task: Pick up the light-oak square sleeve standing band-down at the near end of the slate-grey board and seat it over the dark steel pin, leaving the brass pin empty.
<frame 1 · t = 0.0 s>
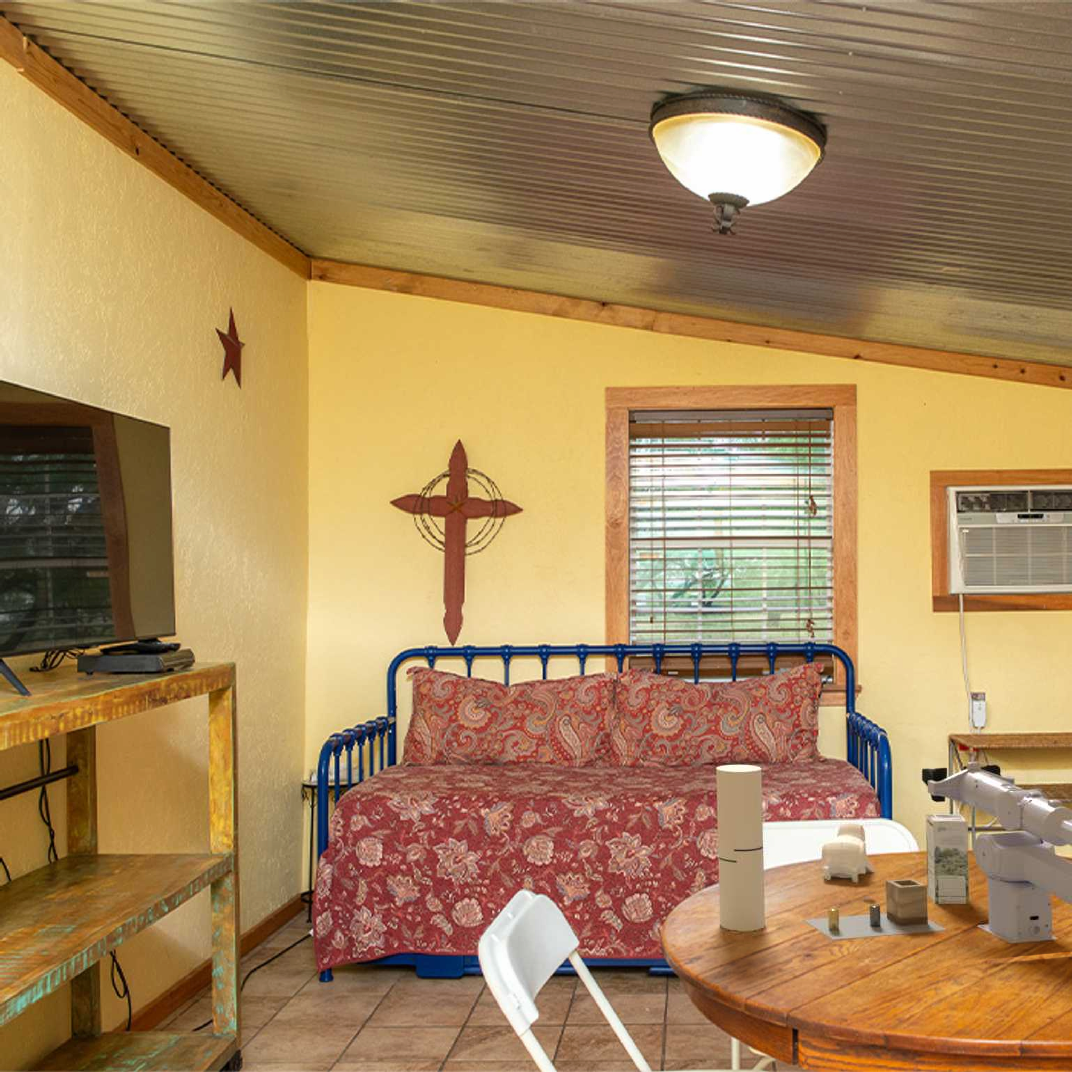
hand: (944, 773, 209), 22 cm above the table, tool horizontal, fingers open, 7 cm apart
white animal figurine: (847, 875, 229), on the table
cylindrical container: (742, 926, 197), on the table
board: (873, 928, 194), on the table
brass pin: (834, 933, 192), resting on board
syrup box: (948, 903, 208), on the table
sleeve: (907, 921, 196), point 1 cm above the table, touching board
steel pin: (875, 929, 193), resting on board
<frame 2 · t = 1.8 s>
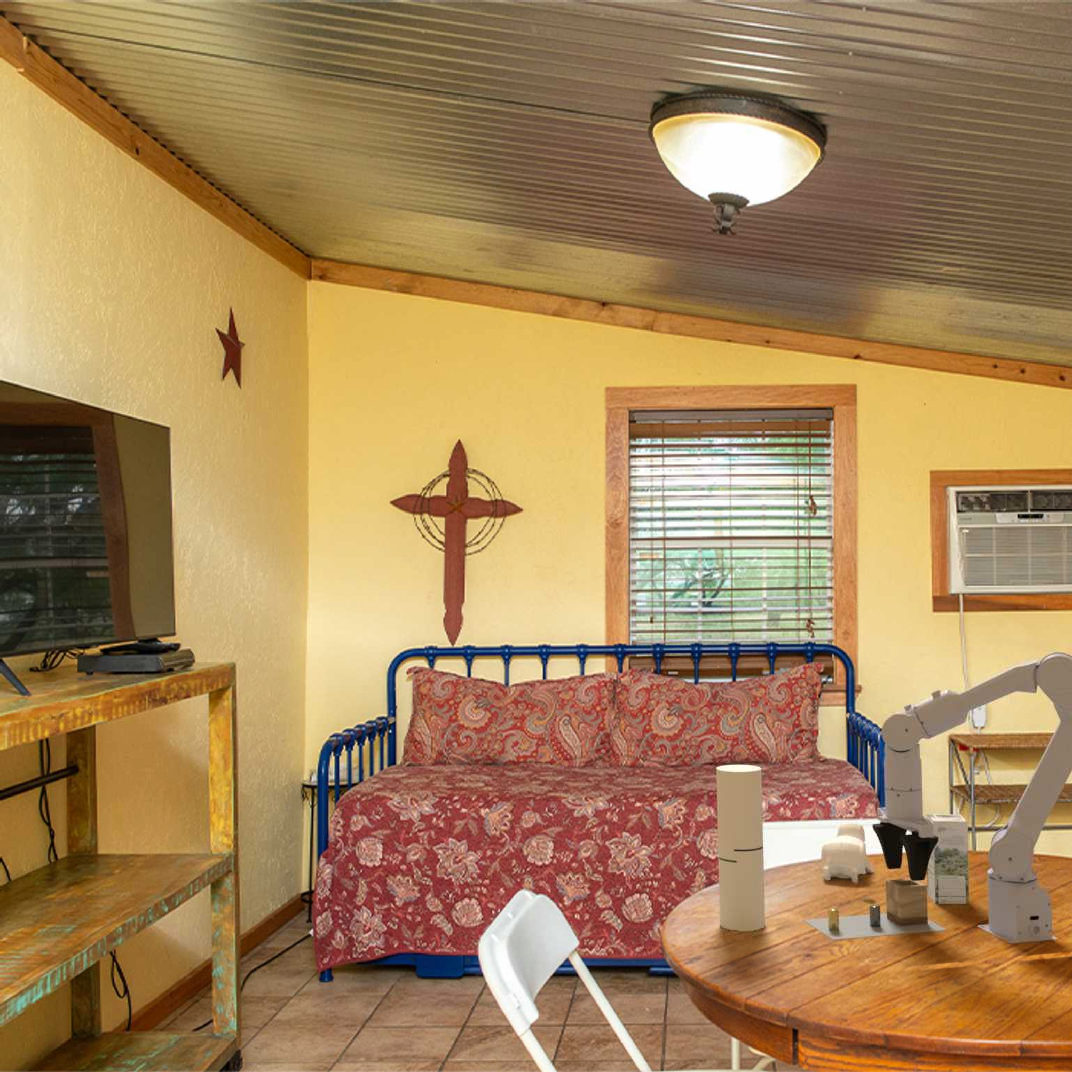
hand: (905, 874, 196), 8 cm above the table, tool pointing down, fingers open, 7 cm apart
nothing on the table moved.
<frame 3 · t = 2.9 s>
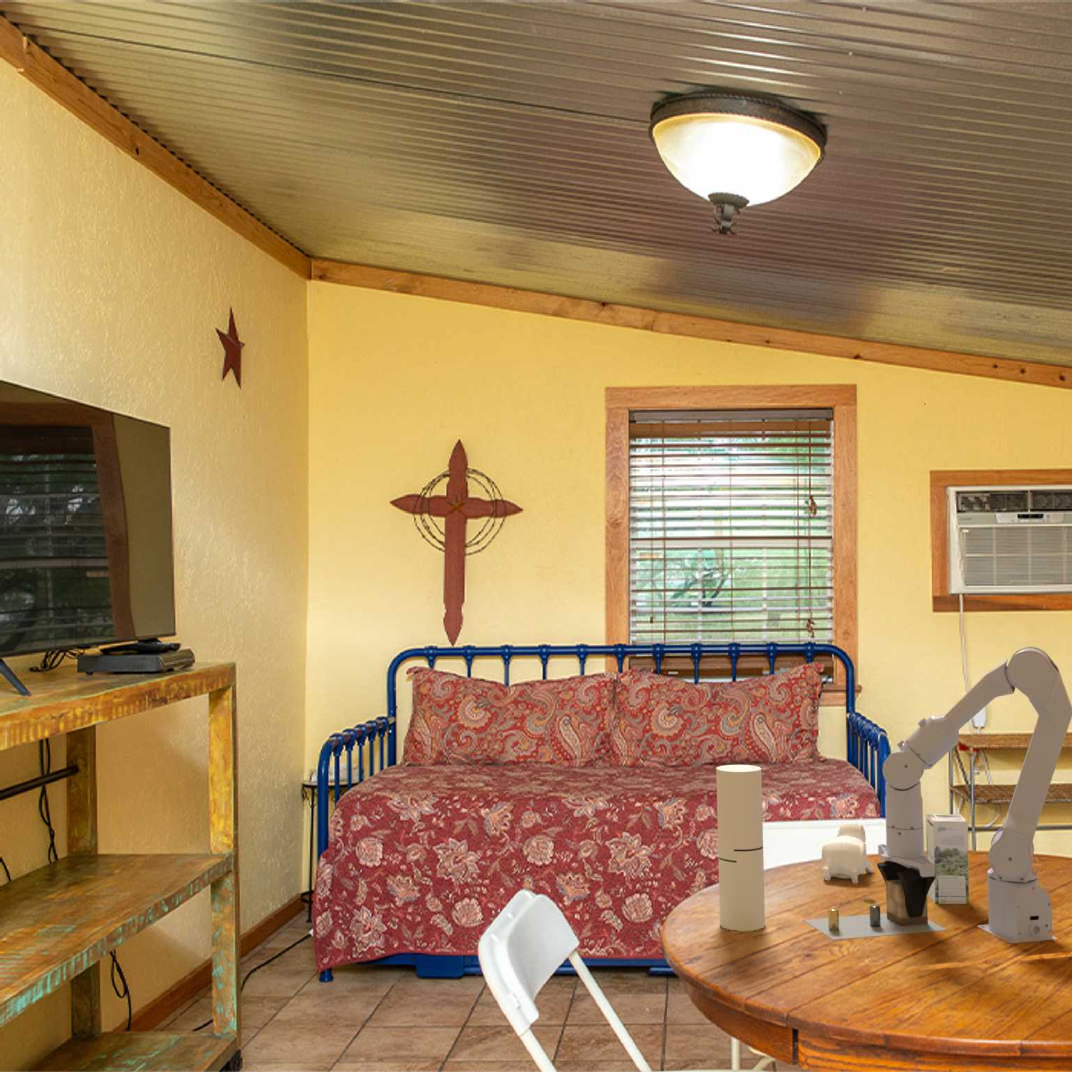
hand: (906, 912, 196), 2 cm above the table, tool pointing down, fingers closed on sleeve, 5 cm apart
sleeve: (907, 921, 196), point 1 cm above the table, touching board, gripper
everything else where it was.
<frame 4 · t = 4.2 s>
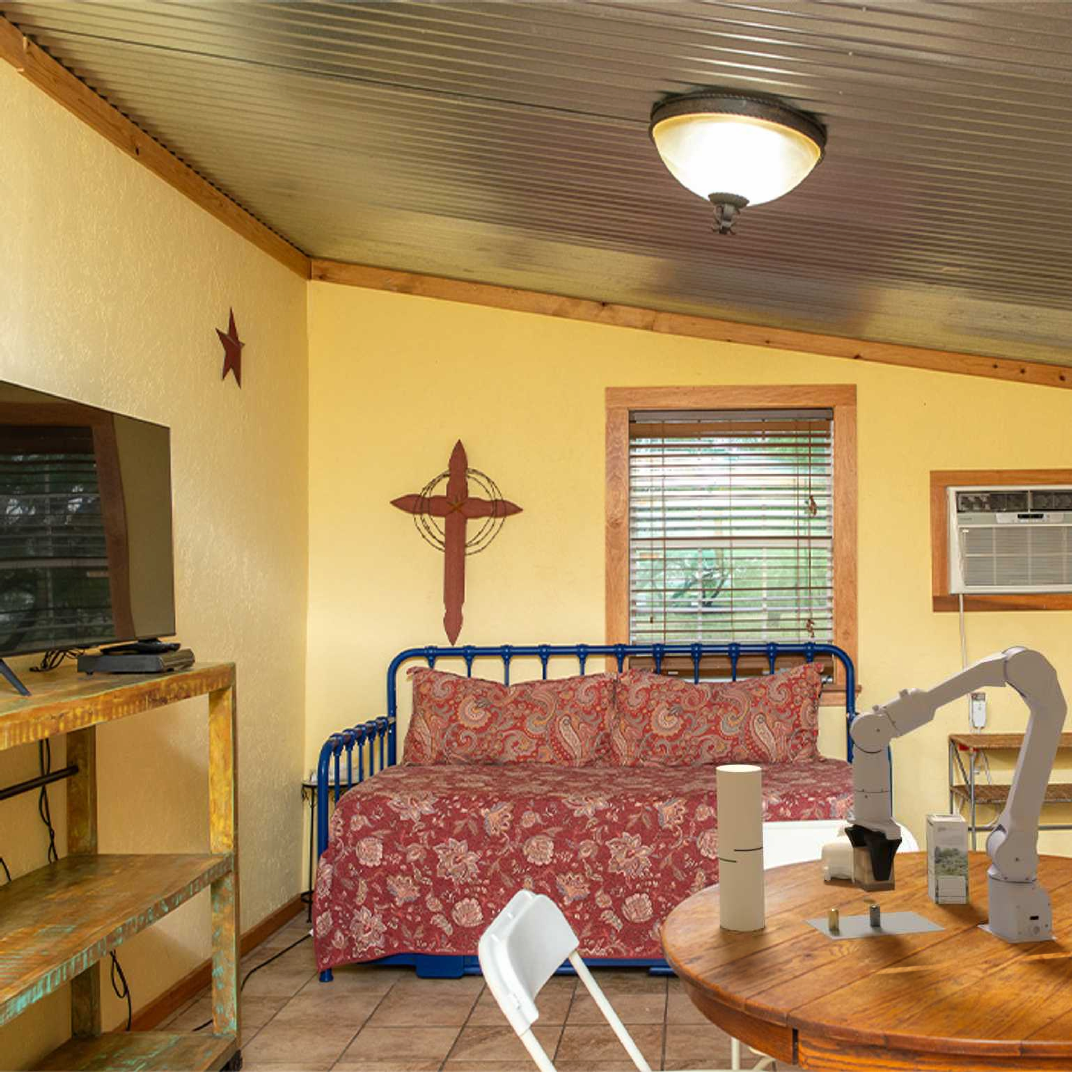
hand: (873, 876, 194), 8 cm above the table, tool pointing down, fingers closed on sleeve, 5 cm apart
sleeve: (874, 887, 194), point 7 cm above the table, touching gripper
everything else where it was.
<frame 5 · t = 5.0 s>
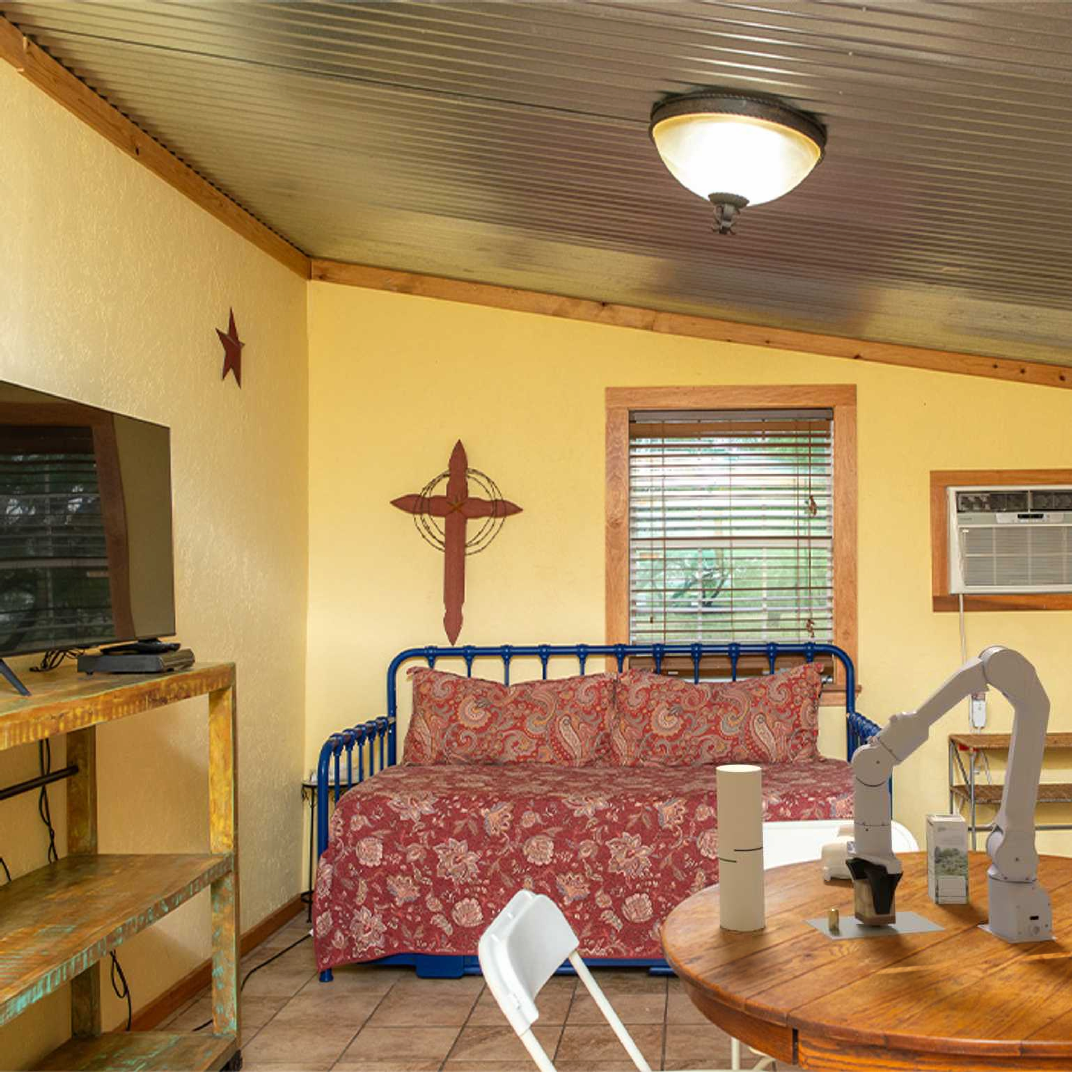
hand: (874, 909, 194), 3 cm above the table, tool pointing down, fingers closed on sleeve, 5 cm apart
sleeve: (875, 920, 193), point 1 cm above the table, touching gripper
everything else where it was.
when the fingers open (3 cm above the table, at t = 5.5 s): sleeve stays where it is, resting on board.
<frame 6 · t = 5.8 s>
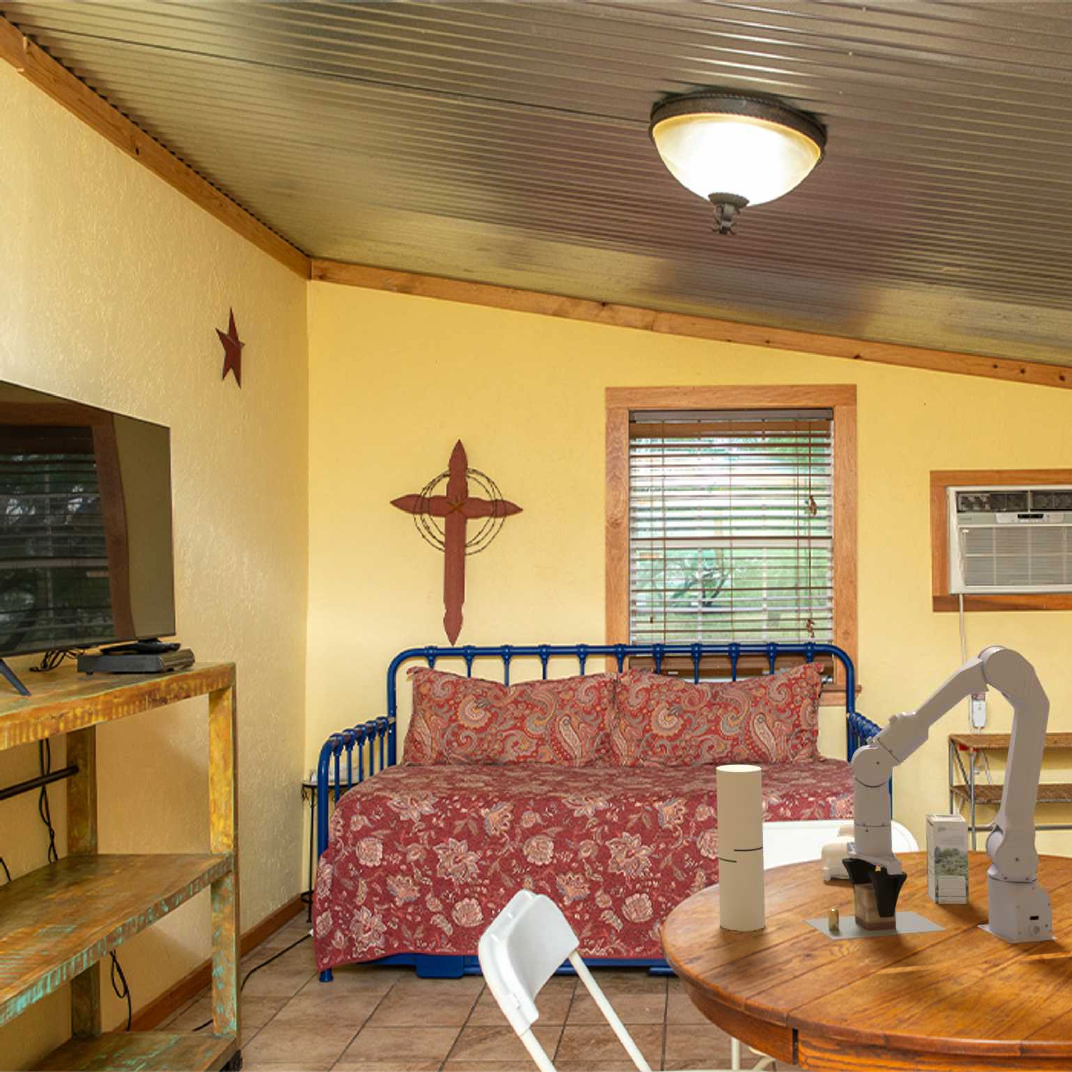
hand: (874, 910, 194), 3 cm above the table, tool pointing down, fingers open, 7 cm apart
sleeve: (875, 925, 193), point 1 cm above the table, touching board
everything else where it was.
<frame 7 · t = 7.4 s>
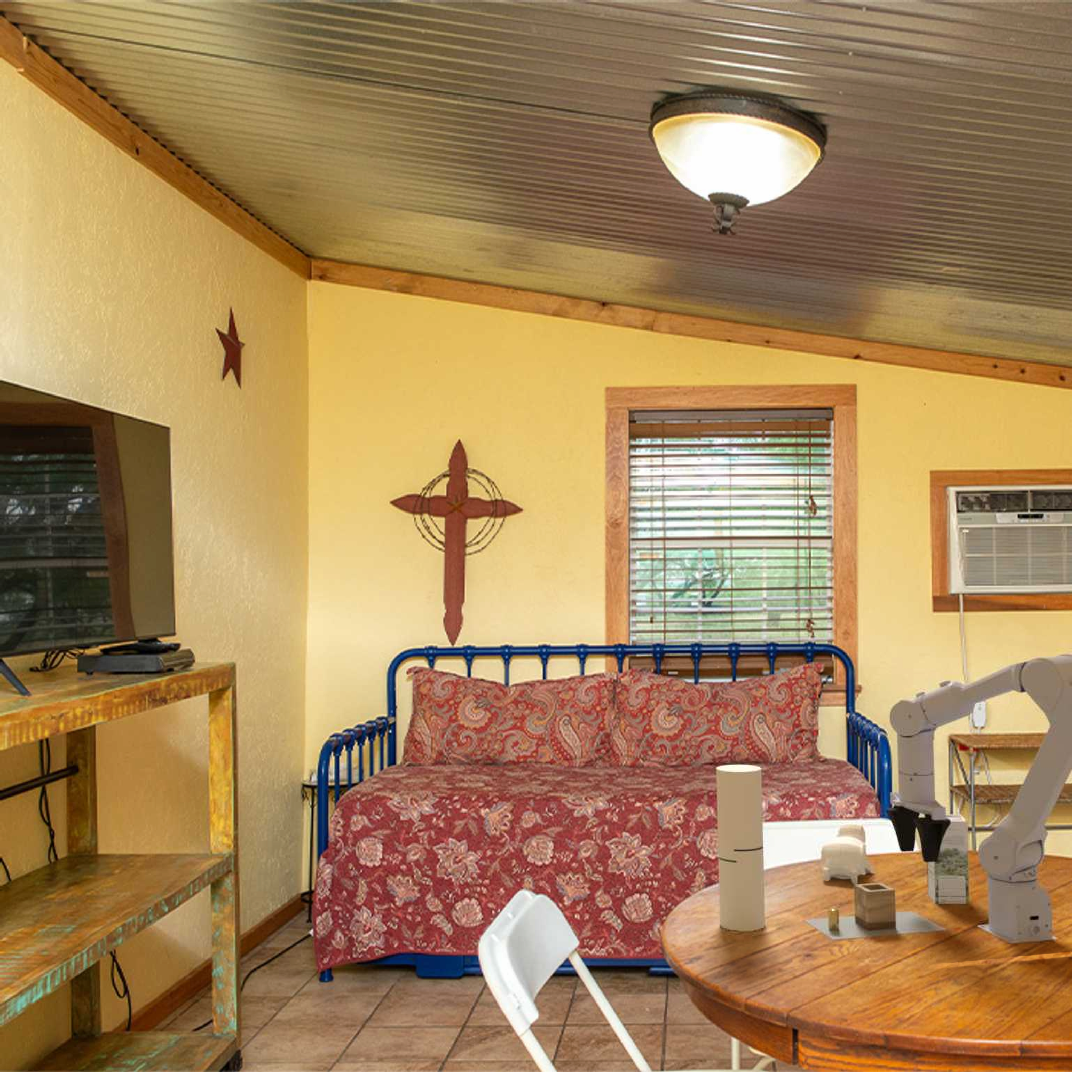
hand: (918, 856, 202), 9 cm above the table, tool pointing down, fingers open, 7 cm apart
nothing on the table moved.
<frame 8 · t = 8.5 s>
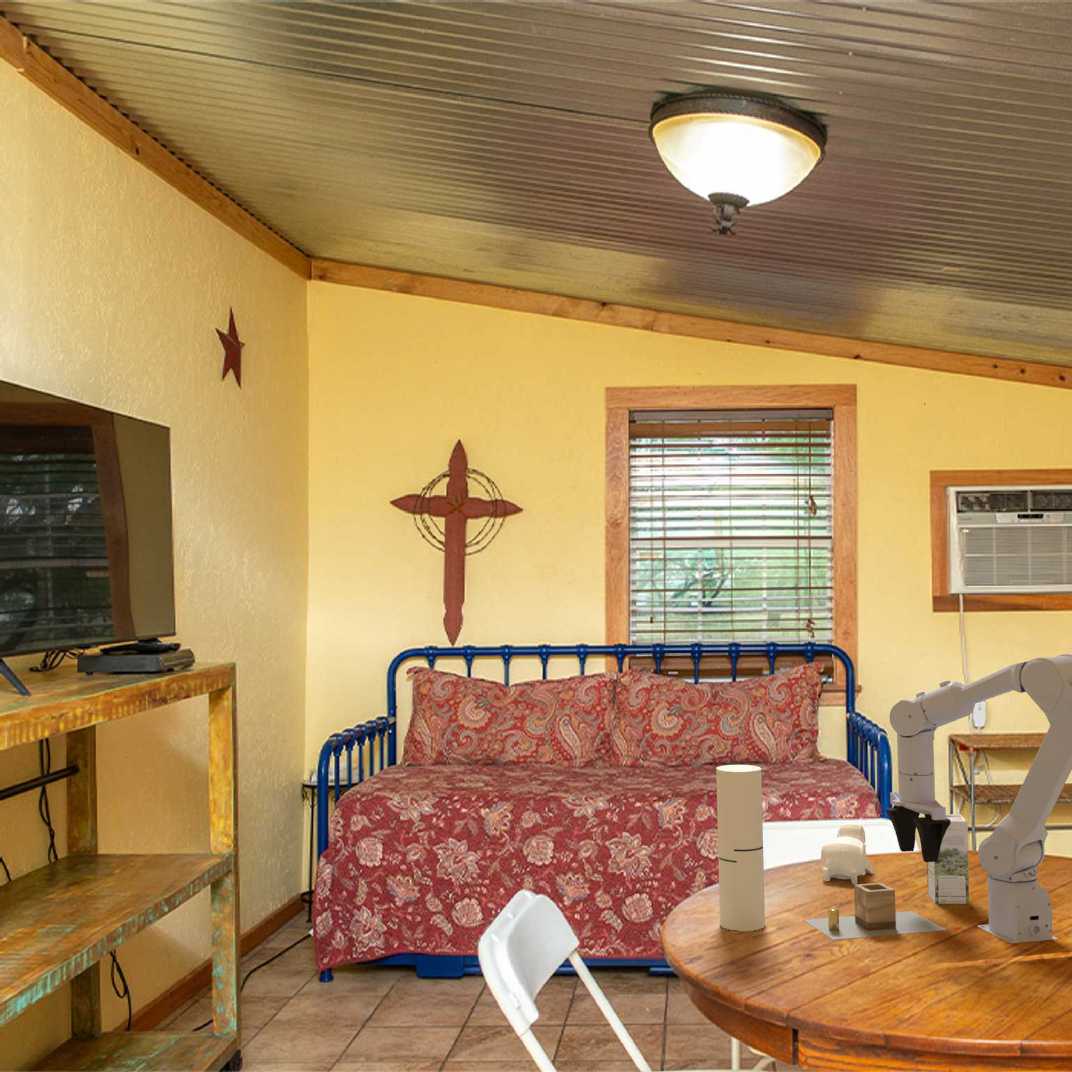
hand: (918, 856, 202), 9 cm above the table, tool pointing down, fingers open, 7 cm apart
at the end: sleeve 0.0 cm off-centre on the steel pin, point 0.6 cm above the steel pin's base; sleeve tilted 0°; the gripper is holding nothing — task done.
